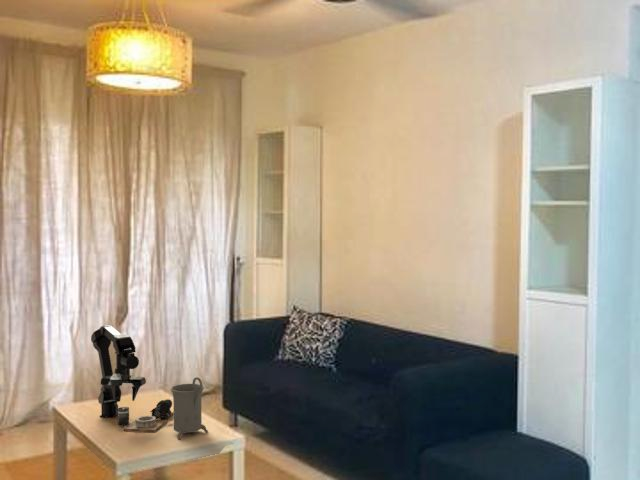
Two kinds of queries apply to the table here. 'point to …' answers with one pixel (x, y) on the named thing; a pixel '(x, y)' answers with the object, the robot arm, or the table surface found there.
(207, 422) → the table surface
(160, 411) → the night vision scope
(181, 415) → the grey footed pail
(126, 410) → the lens
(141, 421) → the mount plate
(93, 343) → the robot arm
